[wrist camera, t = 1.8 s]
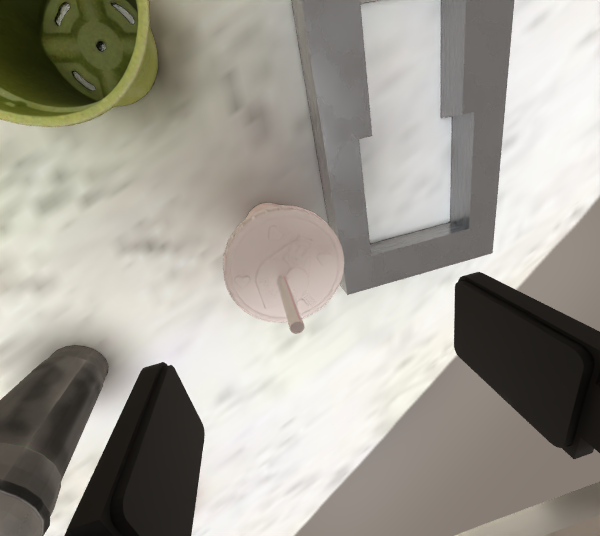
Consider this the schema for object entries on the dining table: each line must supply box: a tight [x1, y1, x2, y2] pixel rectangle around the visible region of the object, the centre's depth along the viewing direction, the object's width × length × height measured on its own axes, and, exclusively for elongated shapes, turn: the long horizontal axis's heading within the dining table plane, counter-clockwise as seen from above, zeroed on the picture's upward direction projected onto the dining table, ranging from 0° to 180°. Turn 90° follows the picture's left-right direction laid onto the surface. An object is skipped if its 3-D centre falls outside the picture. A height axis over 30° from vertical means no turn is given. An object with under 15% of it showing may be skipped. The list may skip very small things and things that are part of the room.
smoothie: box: [223, 203, 344, 334], centre depth 17 cm, size 6×6×14 cm
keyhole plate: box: [291, 0, 514, 295], centre depth 22 cm, size 23×14×2 cm, turn 12°
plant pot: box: [0, 0, 158, 127], centre depth 13 cm, size 9×9×9 cm
